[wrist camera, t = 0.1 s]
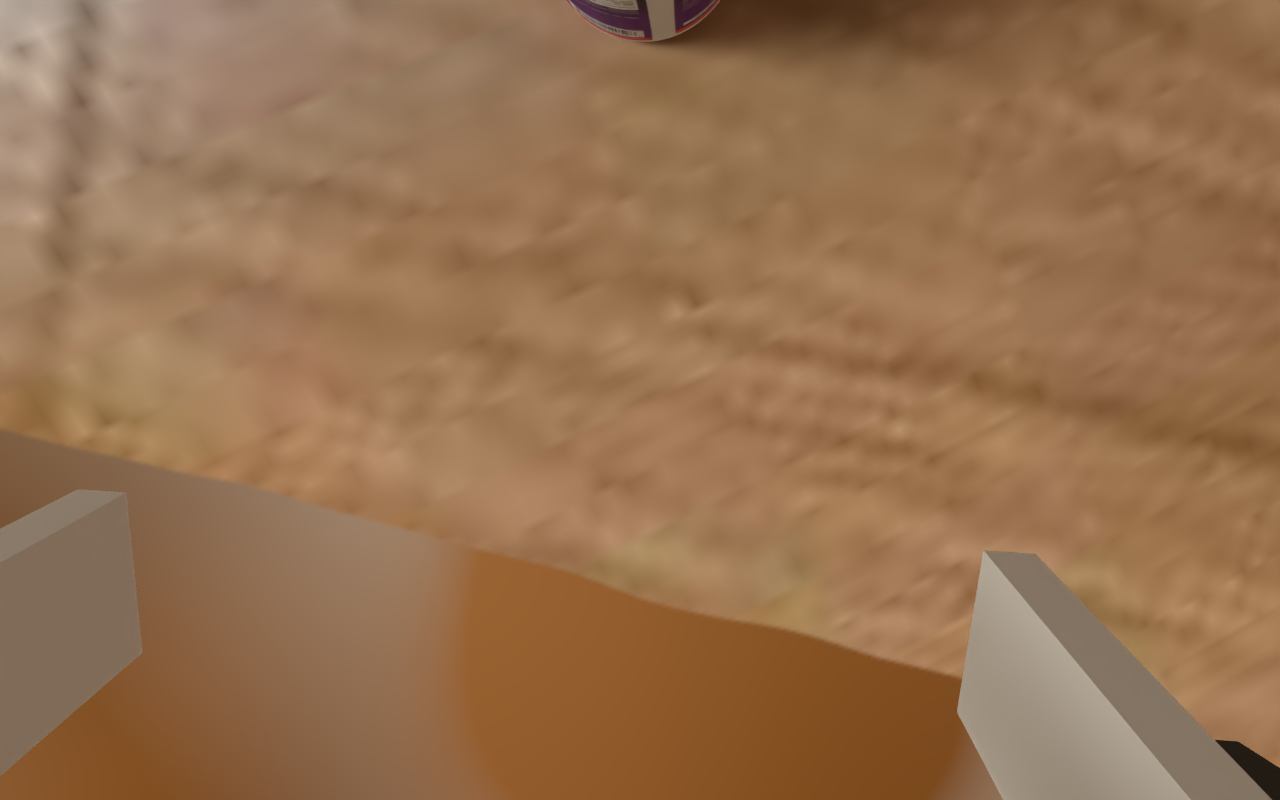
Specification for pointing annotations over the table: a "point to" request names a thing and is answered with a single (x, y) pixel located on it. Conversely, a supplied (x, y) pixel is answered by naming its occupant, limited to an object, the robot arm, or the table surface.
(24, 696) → the robot arm
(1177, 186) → the table surface
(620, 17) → the pill bottle
